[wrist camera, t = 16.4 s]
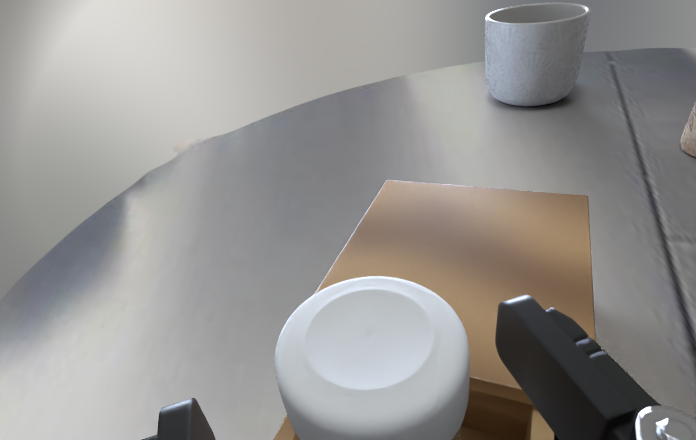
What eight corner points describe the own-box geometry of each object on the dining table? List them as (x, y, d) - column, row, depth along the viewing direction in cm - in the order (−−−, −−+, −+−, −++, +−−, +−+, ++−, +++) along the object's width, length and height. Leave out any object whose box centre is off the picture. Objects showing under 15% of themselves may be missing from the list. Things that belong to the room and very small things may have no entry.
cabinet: (567, 514, 20) (599, 408, 16) (317, 433, 25) (288, 334, 20) (568, 295, 31) (588, 195, 27) (394, 267, 36) (386, 179, 31)
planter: (503, 119, 57) (509, 29, 51) (469, 90, 68) (471, 13, 62) (596, 103, 58) (613, 11, 52) (549, 77, 68) (558, -2, 62)
